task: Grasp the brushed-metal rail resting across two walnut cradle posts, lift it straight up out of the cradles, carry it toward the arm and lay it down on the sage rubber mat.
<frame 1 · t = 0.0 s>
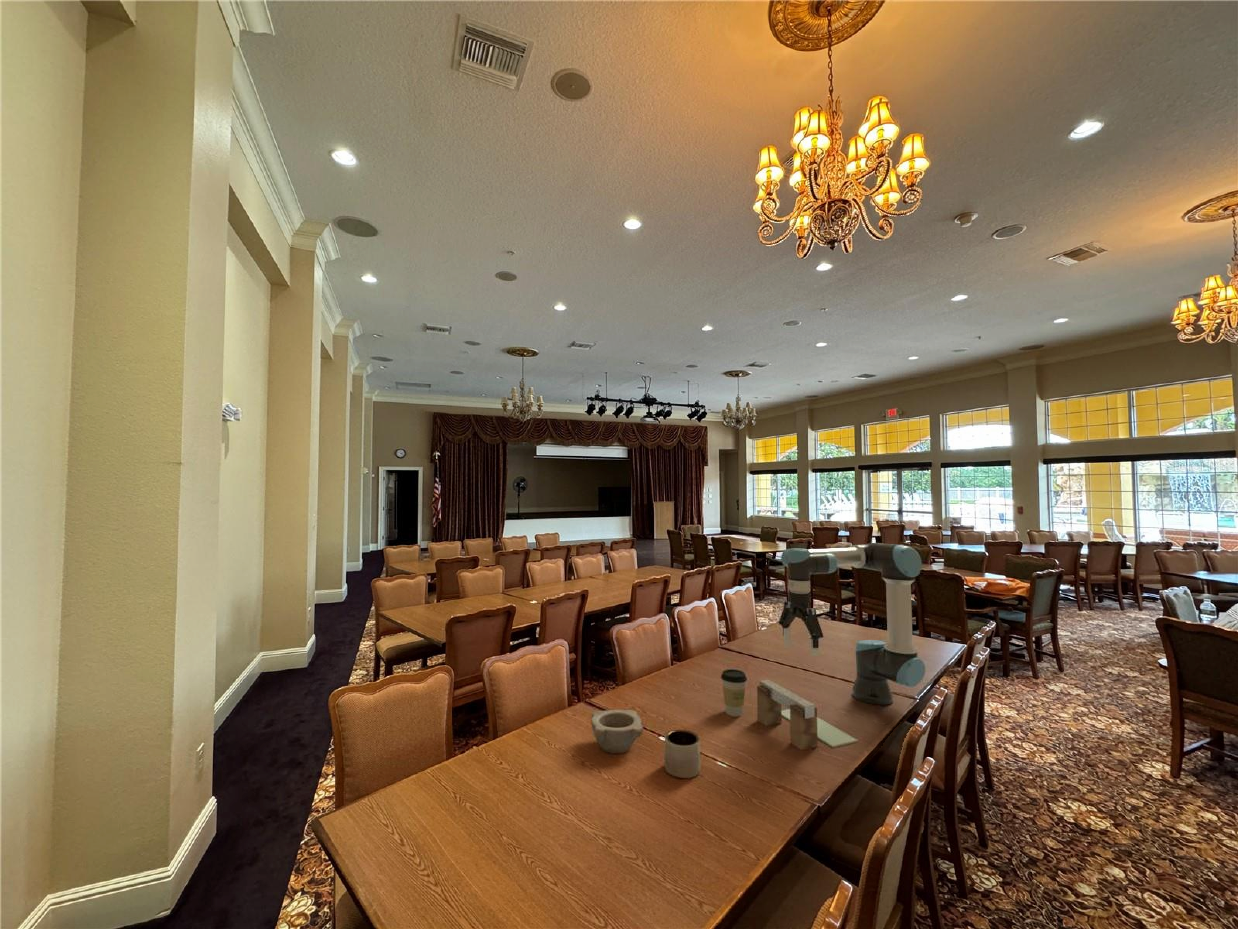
hand: (800, 651, 176), 28 cm above the table, fingers open, 13 cm apart
planter: (682, 770, 149), on the table
post 1: (769, 721, 182), on the table
mortar: (616, 747, 163), on the table
rail: (785, 703, 174), point 10 cm above the table, touching post 2, post 1
coffee cup: (734, 713, 189), on the table
post 2: (804, 744, 165), on the table
mat: (814, 726, 178), on the table
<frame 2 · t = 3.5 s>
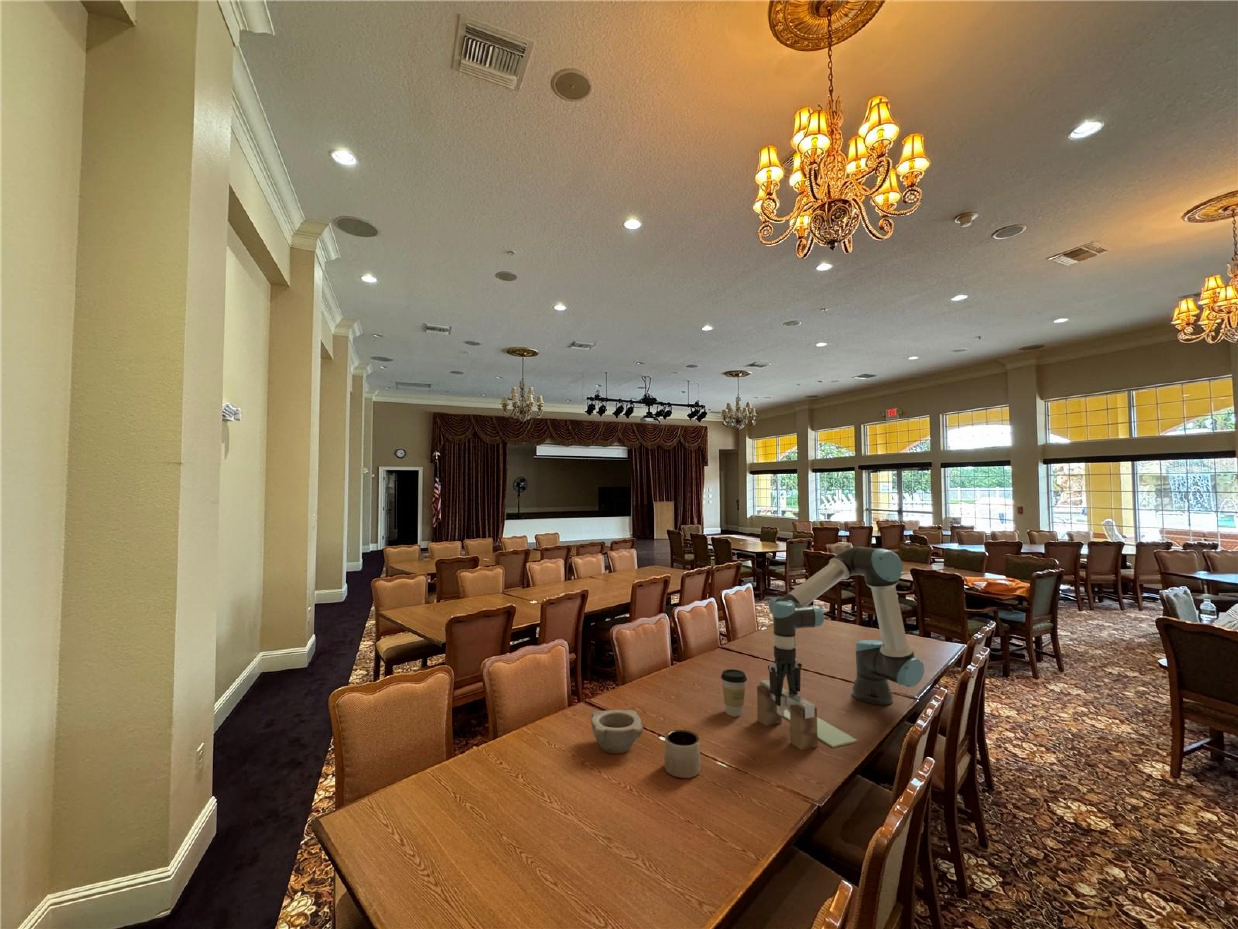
hand: (785, 713, 174), 7 cm above the table, fingers closed on rail, 4 cm apart
rail: (785, 703, 174), point 10 cm above the table, touching gripper, post 2, post 1
everything else where it was.
when the fingers open (2 cm above the table, at t = 10.1 s): rail drops 5 cm, resting on mat.
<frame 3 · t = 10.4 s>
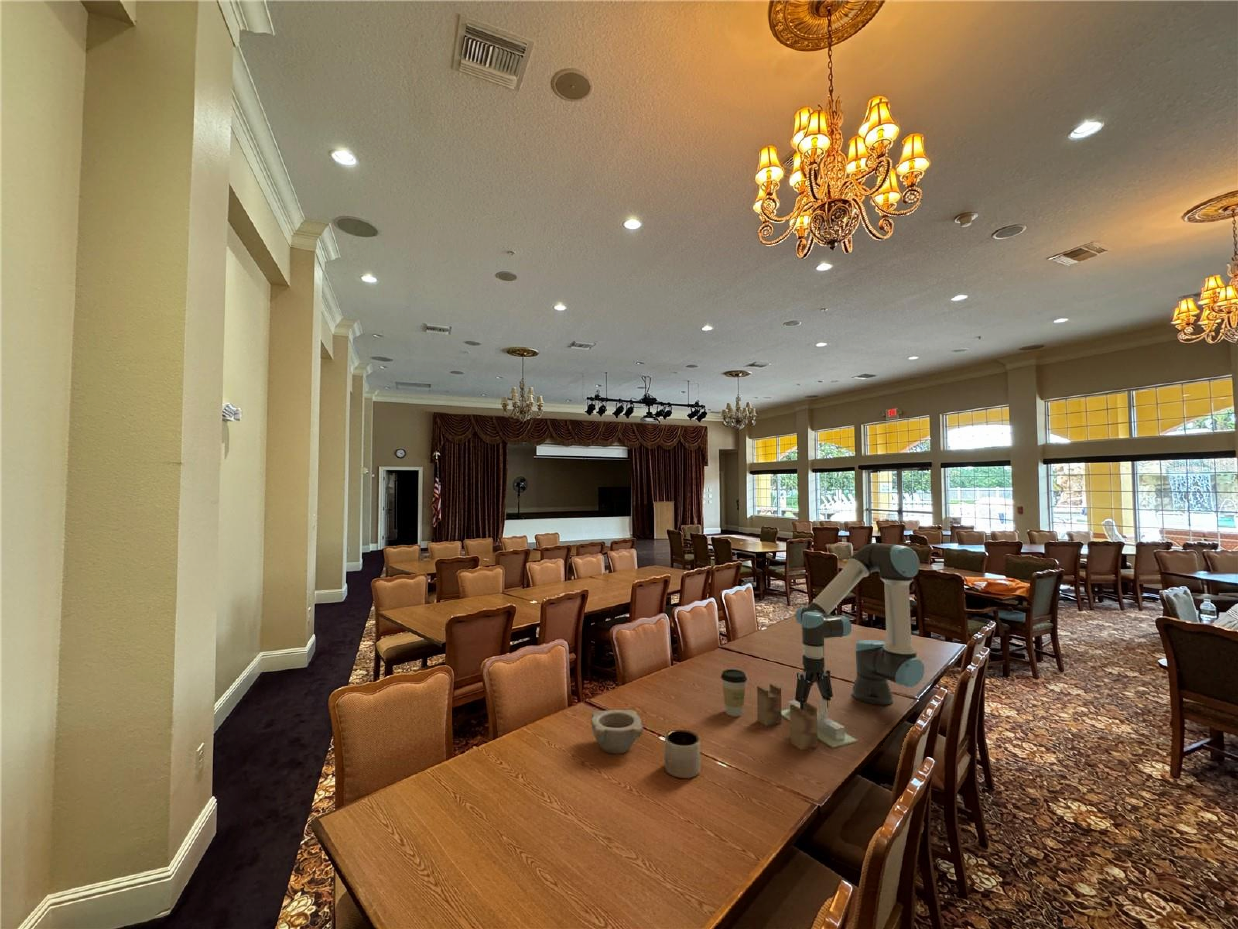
hand: (814, 719, 178), 3 cm above the table, fingers open, 8 cm apart
rail: (814, 724, 178), point 1 cm above the table, touching mat
everything else where it was.
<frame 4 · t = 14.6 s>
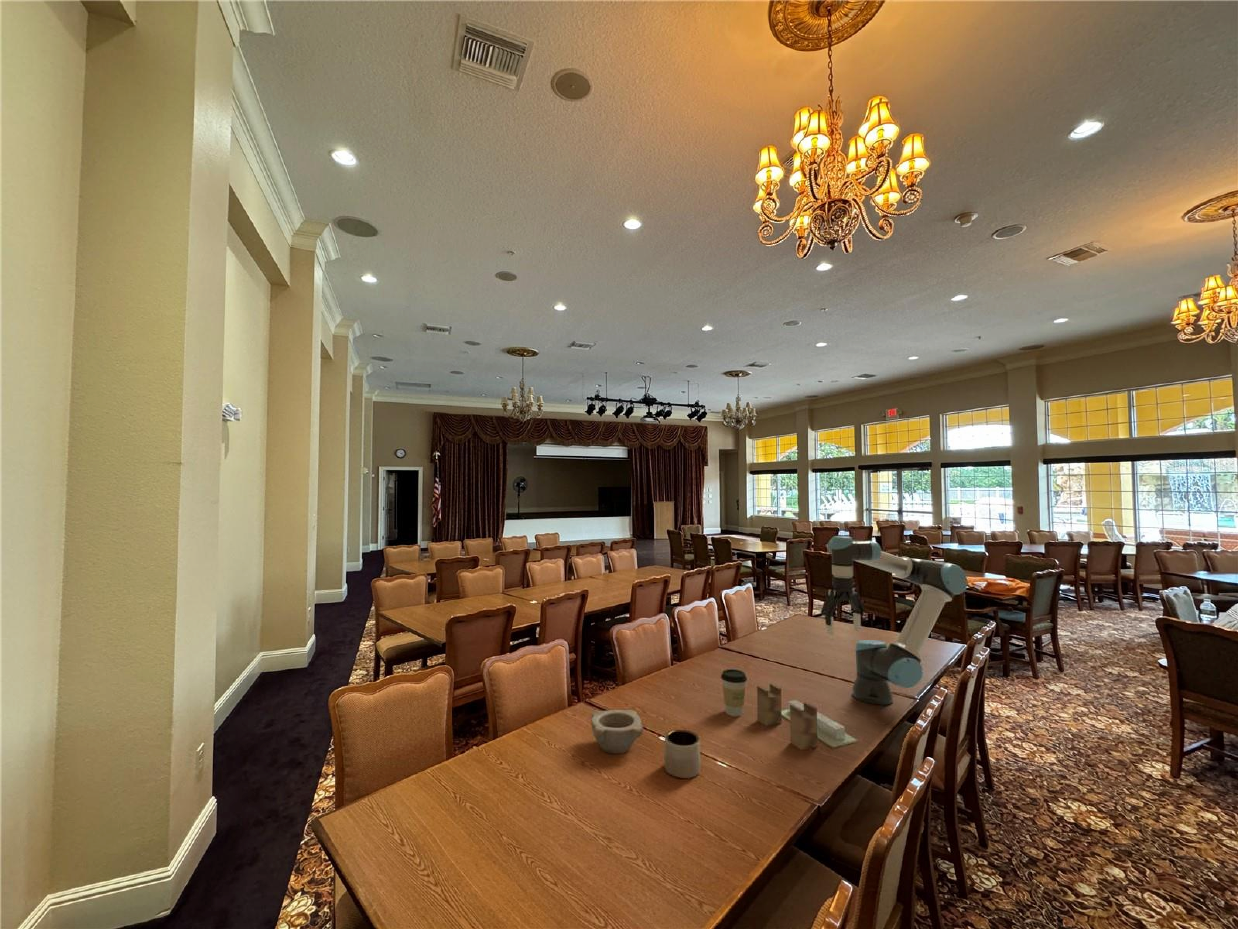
hand: (843, 632, 188), 32 cm above the table, fingers open, 13 cm apart
nothing on the table moved.
at the end: rail inside the target area on the mat (0.1 cm from its centre), point 0.6 cm above the mat's base; rail touching mat; the gripper is holding nothing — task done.
